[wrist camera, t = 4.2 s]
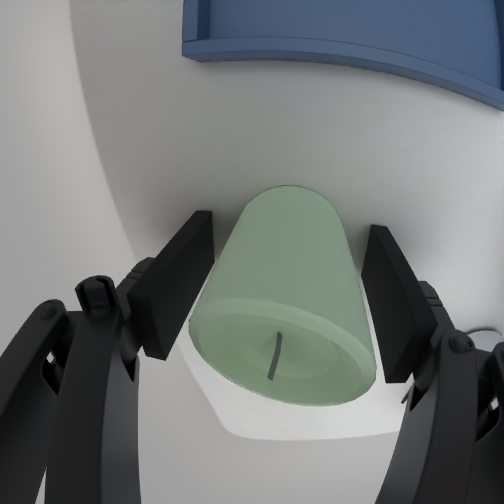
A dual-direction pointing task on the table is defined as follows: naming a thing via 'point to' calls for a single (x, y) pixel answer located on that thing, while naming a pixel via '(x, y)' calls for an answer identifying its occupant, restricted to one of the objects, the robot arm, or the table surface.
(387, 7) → the blue tray
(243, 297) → the candle
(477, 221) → the table surface
